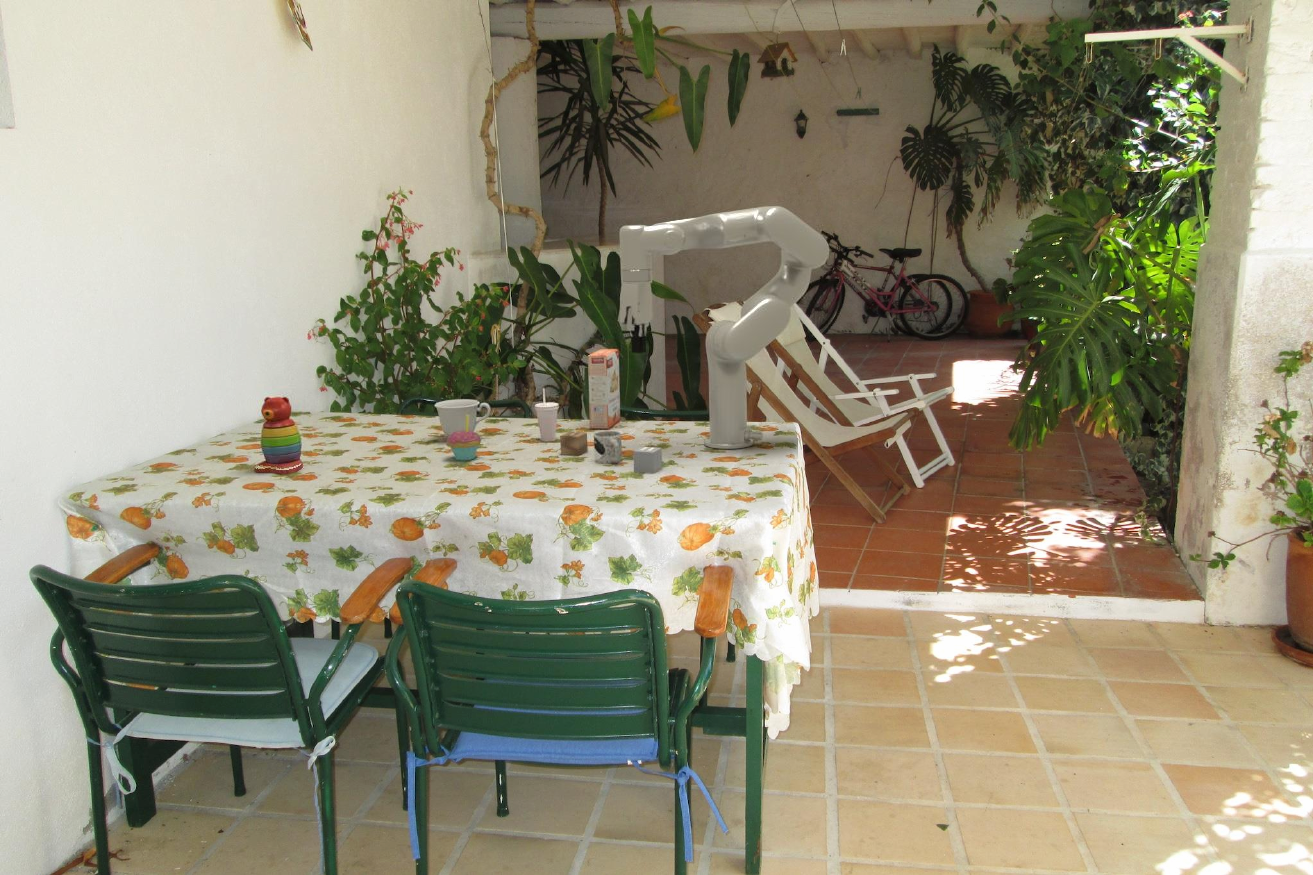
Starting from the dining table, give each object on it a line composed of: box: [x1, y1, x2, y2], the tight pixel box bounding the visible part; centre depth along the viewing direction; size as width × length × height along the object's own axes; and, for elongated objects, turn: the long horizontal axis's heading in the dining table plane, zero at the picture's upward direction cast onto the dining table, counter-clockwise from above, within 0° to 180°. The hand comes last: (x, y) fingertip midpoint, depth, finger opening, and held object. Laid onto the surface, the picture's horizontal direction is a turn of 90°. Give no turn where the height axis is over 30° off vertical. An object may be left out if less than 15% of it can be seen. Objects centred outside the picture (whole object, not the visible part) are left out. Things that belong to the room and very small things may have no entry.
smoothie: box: [534, 387, 560, 443], centre depth 279 cm, size 6×6×14 cm
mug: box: [593, 430, 623, 465], centre depth 253 cm, size 10×7×7 cm, turn 23°
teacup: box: [434, 398, 492, 437], centre depth 284 cm, size 12×15×10 cm
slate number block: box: [632, 446, 663, 474], centre depth 244 cm, size 5×5×5 cm
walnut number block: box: [559, 431, 589, 457], centre depth 264 cm, size 5×5×5 cm
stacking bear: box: [253, 396, 304, 475], centre depth 255 cm, size 11×10×18 cm
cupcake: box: [445, 412, 482, 462], centre depth 261 cm, size 9×8×12 cm
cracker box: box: [587, 348, 621, 430], centre depth 297 cm, size 14×6×21 cm, turn 168°
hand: (639, 352), depth 258 cm, fingers closed
